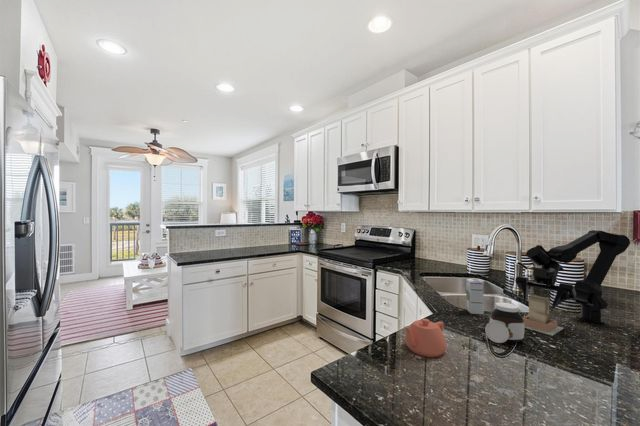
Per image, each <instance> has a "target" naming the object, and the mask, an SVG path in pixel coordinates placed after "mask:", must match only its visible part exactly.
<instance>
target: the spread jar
mask: <svg viewBox="0 0 640 426" xmlns="http://www.w3.org/2000/svg"><path fill="white" fill-rule="evenodd" d="M494 305H495V308H494V309H493V310H492V311H490V314H489V322H488V323H487V324H486V325H485V328H484V329H485V335H486V337H487V338H488V339H489V340H490V341H492V342H493V343H496V344H497V343H498V344H503V343H505V342H506V343H514V344H515V343H518V342H520V341H522V340H523V339H524V337H525V328H524V320H523V317H524V316H522V315H521V313H520V312H519V306H518V305H517V304H513V303H509V302H495V304H494Z"/></svg>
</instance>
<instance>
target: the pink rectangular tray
mask: <svg viewBox="0 0 640 426" xmlns="http://www.w3.org/2000/svg"><path fill="white" fill-rule="evenodd" d="M522 317H523V320H524V329H527V330H532V331H536V332H537V333H538V332H539V333H542V334H545V335H548V336H552V337H553V336H554V335H556V334H558V333H560V331H562V330H564V327H563V326H559V325H558V320H556V319H552V318H549V323H548V324H544V323H541V322H537V321H533V320H529V314H526V315H524V316H522Z"/></svg>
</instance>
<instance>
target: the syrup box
mask: <svg viewBox="0 0 640 426" xmlns="http://www.w3.org/2000/svg"><path fill="white" fill-rule="evenodd" d="M465 281H466V282H465V289H466V291H465V295H466V296H465V297H466V298H465V299H466V301H465V303H466V304H465V307H466V308H465V309H466V311H467V312H468V313H469V314H471V315H484V313H485V312H484V310H485V309H484V306H485V305H484V281H482V280H481V279H479V278H466V279H465Z"/></svg>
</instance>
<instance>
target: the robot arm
mask: <svg viewBox="0 0 640 426" xmlns="http://www.w3.org/2000/svg"><path fill="white" fill-rule="evenodd" d="M597 243H598V247H599V253H598V255H597V257H596V259H595V260H594V262H593V264H592V266H591V268H590V270H589V272H588V274H587V276H586V277H585V278H584V279H583V281H579V280H577V281H576V282H575V284H574V285H573V284H568V283H563V282H560V283H559V286H558V285H555V284H556V283H557V281H558V280H557V278H558V274H559V272H564V271H565V269H564V267H563V266H562V265H561V264H560V263H562V264H569V263H572V261H574V260H575V259H576V258H577V255H578V254H579V253H580V252H582V251H584V250H586V249H588V248H590V247H591V246H594V245H595V244H597ZM630 244H631V239H630V238H629V237H628V236H627V235H625V234H614V233H611V232H607V231H604V230H597V229H596V230H593V229H591V230H588V232H587V233H585V234H583V235H581V236H579V237H577V238H576V239H574V240H572V241H571V242H568V243H566V244H562V245H558V246H555V247H551V248H550V249H549V250H546V249H545V248H544V247H543V246H542V245H539V244H537V245H536V246H534V247H531V248H529V249H527V251H526V252H525V256H526V257H527V258H528V259H530V261H531V262H533V263H534V264H535V265H536V266H537V267H535V266H534V267H533V271H532V276H534V277H533V279H534V281H530V280H529V278H528V277H526V276H519V275H518V276H516V277H515V280H514V281H515V284H516V285H517V288H518V289H519V290H521V291H522V297H523V301H524V303H526V302H527V300H528V299H529V294H530V291H531V287H532V288H538V289H542V290H548V291H553V292H556V294H555V297H554V298H553V299H554V300H553V302H552V306H551V308H552V309H554V308H556V307H557V306H559V305H561V304H562V303H563V302H565V301H567V300H568V301H570V300H571V299H572V300H575V301H574V302H575V303H576V304H580V315H576V318H578V319H581V320H582V321H584V322H585V323H593V324H594V323H596V324H606V322H605V321H603V320H602V312H601V311H602V310H607V307H608V303H607V302H606V301H605V300H604V298H602V296H603V290H602V287H601V286H602V284H603V282H604V280H605V278H606V276H607V274H608V273H609V271H610V270H611V267H612V265H613V263H614V262H615V260H616V258H617V256H619V255H621V254H623V253H624V252H626V250H627V249H628V248H629V247H630ZM538 266H539V267H538ZM540 266H541V267H540Z"/></svg>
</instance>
